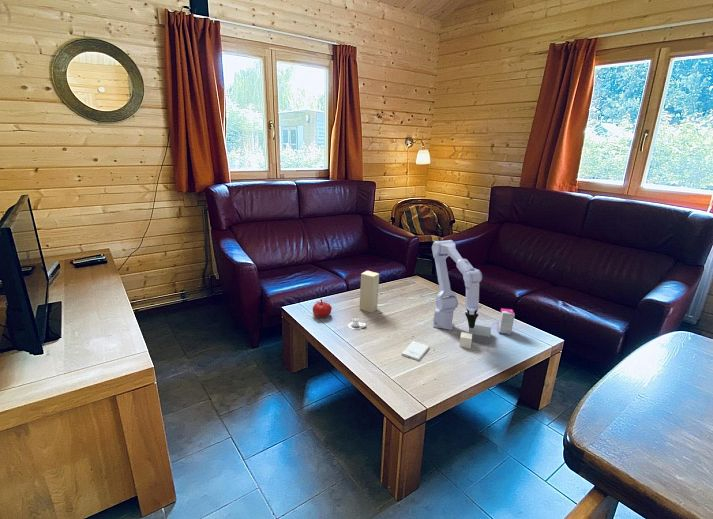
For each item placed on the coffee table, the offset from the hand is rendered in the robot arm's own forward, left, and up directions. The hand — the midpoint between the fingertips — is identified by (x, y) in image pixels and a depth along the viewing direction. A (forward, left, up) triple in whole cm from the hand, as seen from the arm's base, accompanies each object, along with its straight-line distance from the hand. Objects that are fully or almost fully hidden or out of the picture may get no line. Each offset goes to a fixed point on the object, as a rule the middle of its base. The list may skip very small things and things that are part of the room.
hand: (471, 325), depth 175 cm
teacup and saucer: (-54, -4, -11) cm, 55 cm away
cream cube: (-2, -1, -10) cm, 10 cm away
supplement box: (+16, +19, -10) cm, 27 cm away
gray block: (+4, +9, -11) cm, 15 cm away
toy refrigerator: (-55, +20, -10) cm, 59 cm away
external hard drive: (-23, -15, -11) cm, 29 cm away
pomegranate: (-76, +3, -11) cm, 76 cm away
